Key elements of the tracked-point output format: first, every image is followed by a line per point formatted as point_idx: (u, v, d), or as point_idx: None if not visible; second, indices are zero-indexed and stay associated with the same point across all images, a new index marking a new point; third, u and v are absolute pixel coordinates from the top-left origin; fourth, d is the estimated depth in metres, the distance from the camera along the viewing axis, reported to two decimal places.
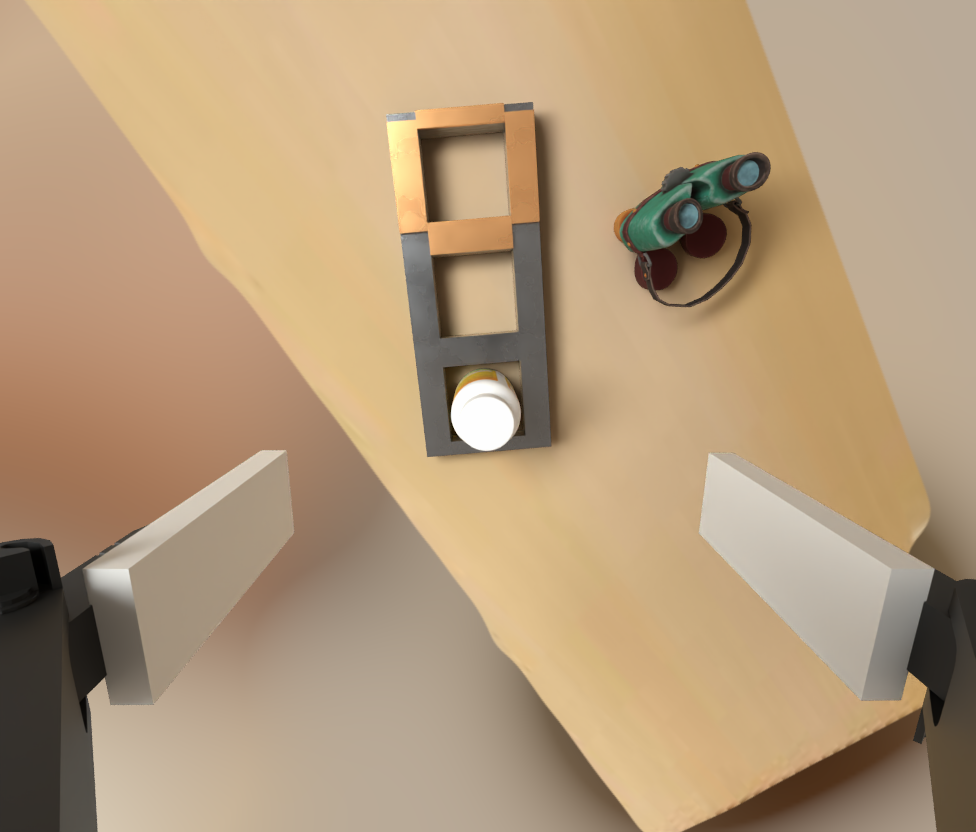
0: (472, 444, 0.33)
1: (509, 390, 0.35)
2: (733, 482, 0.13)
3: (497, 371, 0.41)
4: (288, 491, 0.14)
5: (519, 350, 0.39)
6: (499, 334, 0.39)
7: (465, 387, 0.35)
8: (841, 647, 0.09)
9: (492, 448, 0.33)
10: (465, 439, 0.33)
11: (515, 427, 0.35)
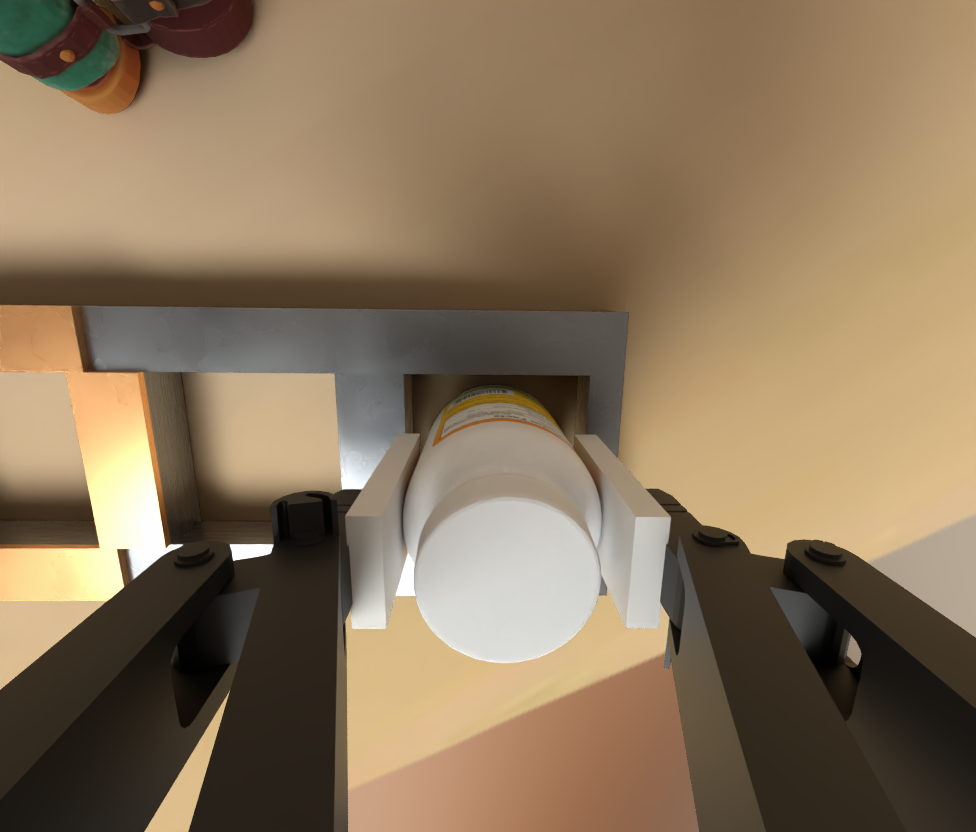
0: (570, 630, 0.10)
1: (434, 455, 0.12)
2: (583, 458, 0.15)
3: (435, 419, 0.18)
4: None
5: (378, 374, 0.16)
6: (340, 417, 0.17)
7: None
8: (619, 587, 0.11)
9: (594, 572, 0.10)
10: (550, 648, 0.10)
11: (546, 451, 0.11)
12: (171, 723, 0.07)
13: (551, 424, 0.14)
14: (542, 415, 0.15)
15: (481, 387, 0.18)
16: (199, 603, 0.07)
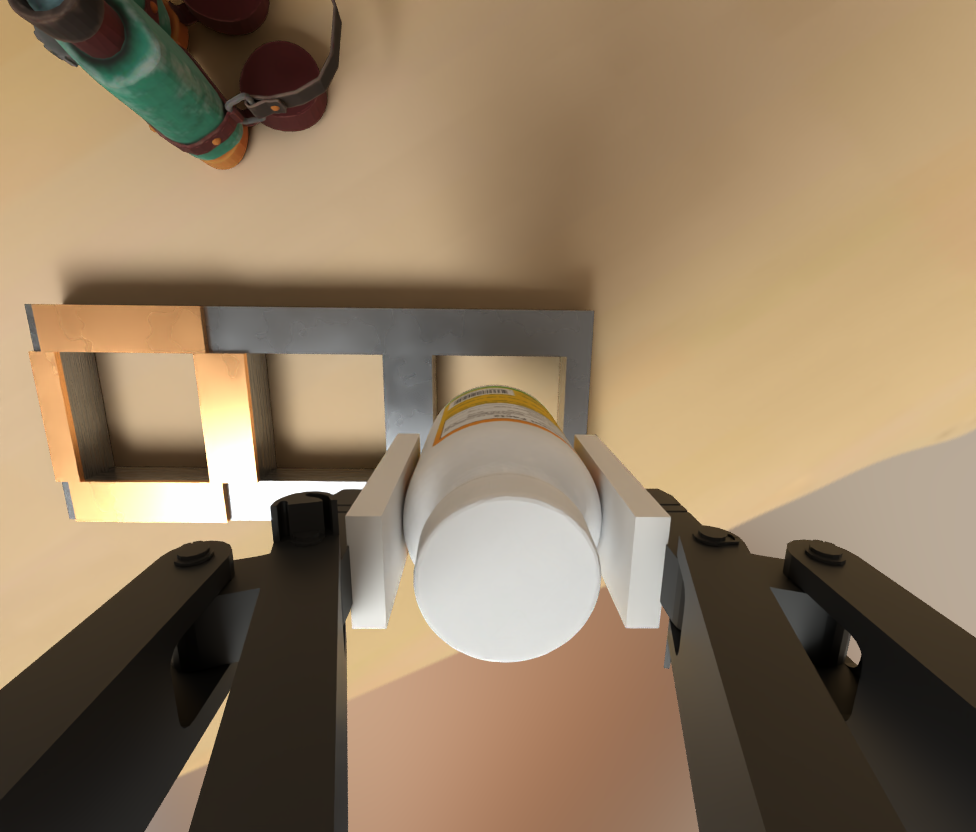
0: (570, 629, 0.10)
1: (434, 455, 0.12)
2: (583, 458, 0.15)
3: (435, 419, 0.18)
4: None
5: (414, 355, 0.23)
6: (385, 387, 0.23)
7: None
8: (619, 587, 0.11)
9: (594, 571, 0.10)
10: (550, 648, 0.10)
11: (546, 451, 0.12)
12: (171, 723, 0.07)
13: (551, 424, 0.14)
14: (542, 415, 0.15)
15: (481, 387, 0.18)
16: (199, 603, 0.07)
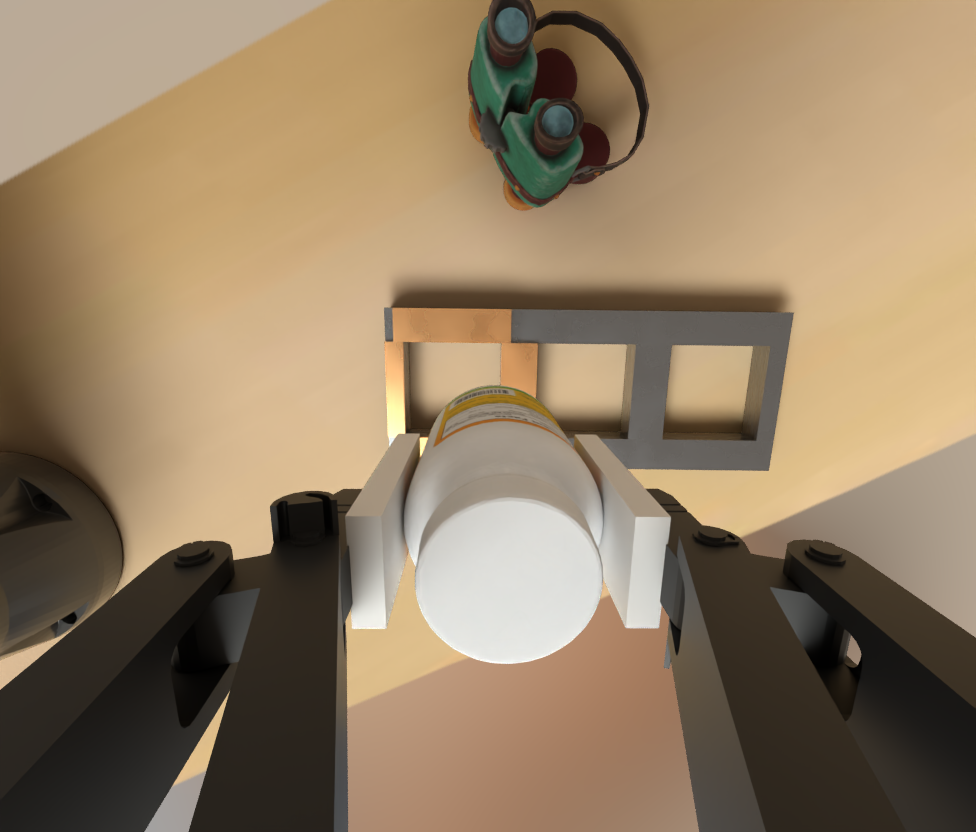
0: (572, 631, 0.10)
1: (435, 455, 0.12)
2: (583, 458, 0.15)
3: None
4: None
5: (658, 345, 0.31)
6: (634, 368, 0.32)
7: None
8: (619, 587, 0.11)
9: (596, 572, 0.10)
10: (552, 649, 0.10)
11: (547, 452, 0.11)
12: (171, 723, 0.07)
13: (552, 424, 0.14)
14: (543, 415, 0.15)
15: (482, 387, 0.18)
16: (199, 603, 0.07)
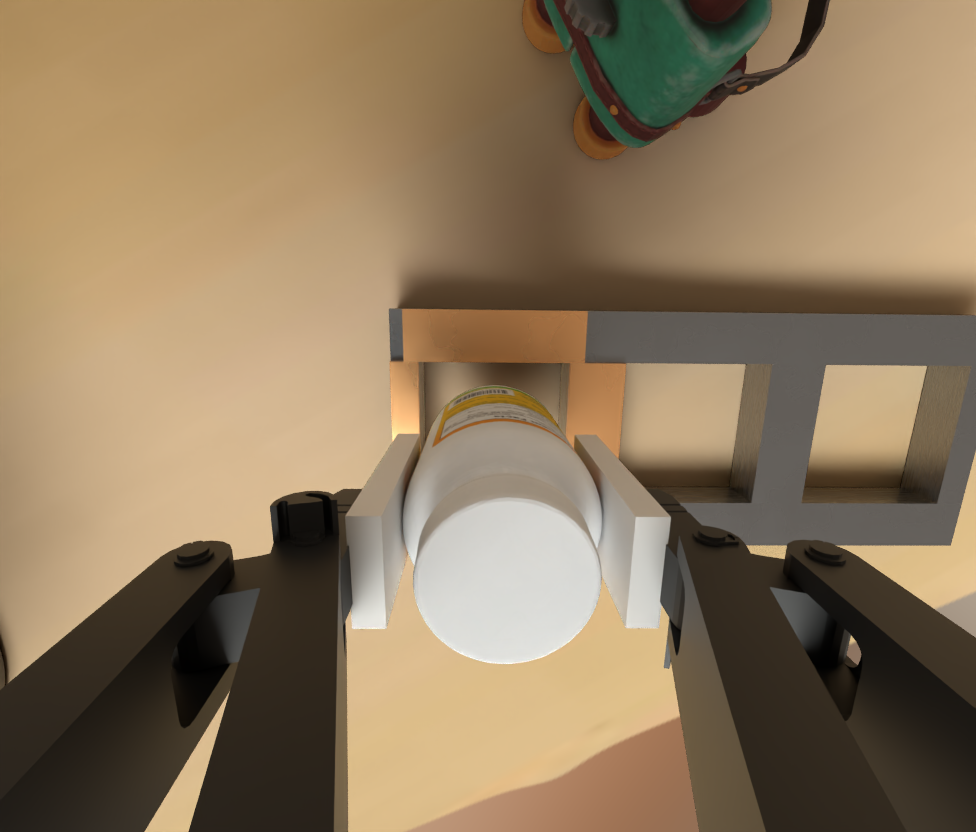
0: (570, 631, 0.10)
1: (434, 455, 0.12)
2: (583, 458, 0.15)
3: (435, 419, 0.18)
4: None
5: (806, 365, 0.21)
6: (768, 399, 0.21)
7: None
8: (619, 587, 0.11)
9: (594, 573, 0.10)
10: (550, 649, 0.10)
11: (546, 452, 0.11)
12: (171, 723, 0.07)
13: (551, 424, 0.14)
14: (542, 415, 0.15)
15: (481, 387, 0.18)
16: (199, 603, 0.07)
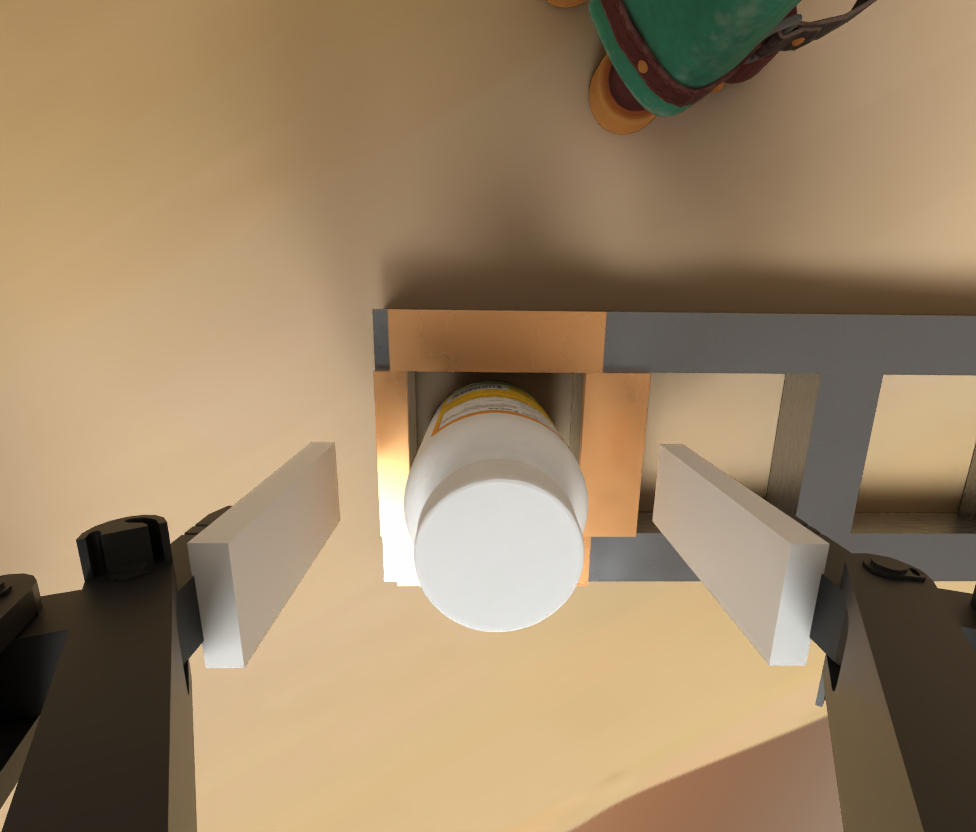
0: (557, 601, 0.11)
1: (432, 444, 0.13)
2: (678, 470, 0.14)
3: None
4: (335, 481, 0.15)
5: (860, 375, 0.18)
6: (815, 415, 0.18)
7: None
8: (755, 618, 0.10)
9: (578, 548, 0.11)
10: (538, 618, 0.11)
11: (535, 440, 0.12)
12: None
13: (542, 416, 0.15)
14: (534, 408, 0.16)
15: (478, 383, 0.19)
16: None
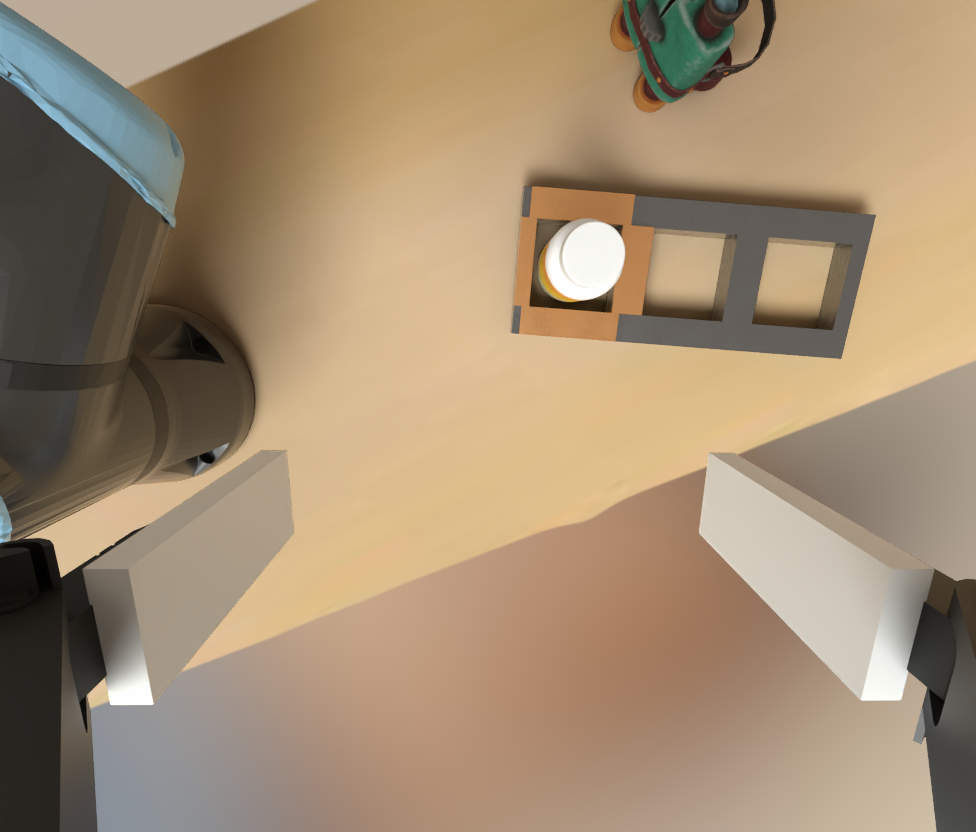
0: (613, 274, 0.29)
1: (562, 227, 0.31)
2: (733, 481, 0.13)
3: (543, 249, 0.38)
4: (288, 491, 0.14)
5: (757, 236, 0.36)
6: (734, 256, 0.36)
7: (550, 277, 0.32)
8: (841, 647, 0.09)
9: (623, 252, 0.29)
10: (605, 281, 0.29)
11: None
12: None
13: None
14: None
15: None
16: None
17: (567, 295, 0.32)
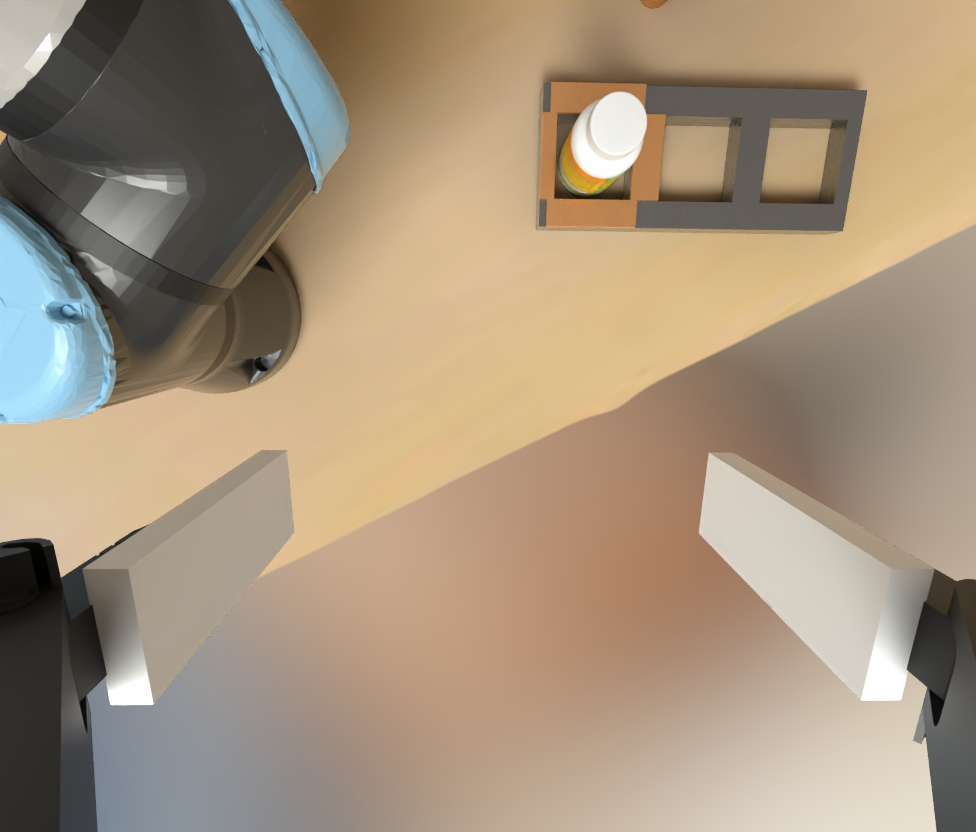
0: (637, 141, 0.32)
1: (586, 107, 0.34)
2: (733, 481, 0.13)
3: None
4: (288, 491, 0.14)
5: (760, 118, 0.39)
6: (740, 139, 0.39)
7: (576, 157, 0.35)
8: (841, 647, 0.09)
9: (645, 119, 0.32)
10: (630, 149, 0.32)
11: None
12: None
13: None
14: None
15: None
16: None
17: (593, 173, 0.35)
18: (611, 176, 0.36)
